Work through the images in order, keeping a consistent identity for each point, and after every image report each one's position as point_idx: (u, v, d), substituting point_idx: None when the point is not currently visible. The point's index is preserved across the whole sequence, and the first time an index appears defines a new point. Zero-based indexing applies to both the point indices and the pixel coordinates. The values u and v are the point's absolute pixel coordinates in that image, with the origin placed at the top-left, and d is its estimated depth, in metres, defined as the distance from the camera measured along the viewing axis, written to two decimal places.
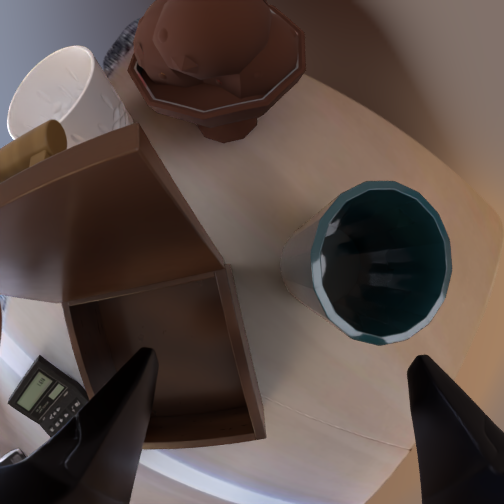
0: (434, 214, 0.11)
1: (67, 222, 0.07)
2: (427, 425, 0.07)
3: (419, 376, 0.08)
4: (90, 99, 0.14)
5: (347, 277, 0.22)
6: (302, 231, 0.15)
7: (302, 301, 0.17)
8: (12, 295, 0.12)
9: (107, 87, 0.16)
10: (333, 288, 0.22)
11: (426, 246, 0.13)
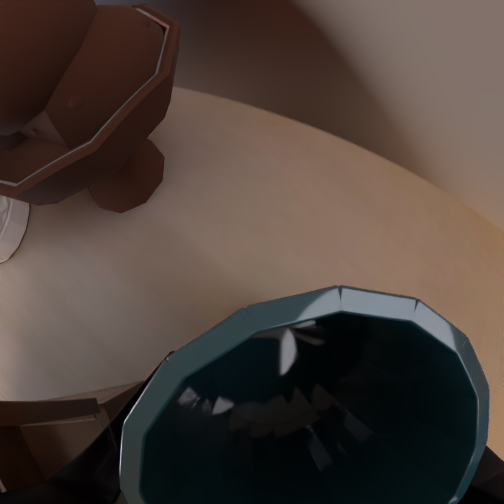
0: (457, 343, 0.04)
1: None
2: None
3: None
4: None
5: (310, 385, 0.14)
6: None
7: None
8: None
9: None
10: (291, 403, 0.14)
11: (433, 390, 0.05)
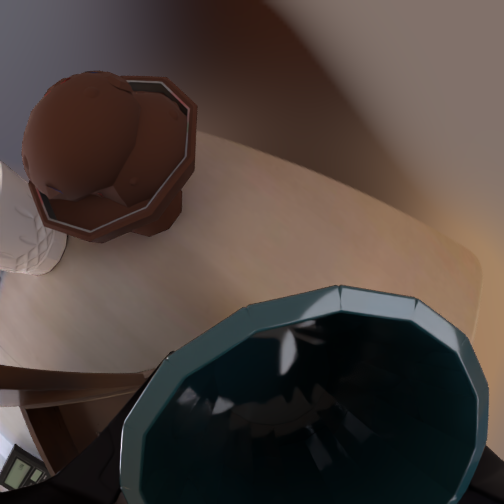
0: (457, 343, 0.04)
1: None
2: None
3: None
4: (3, 217, 0.13)
5: (310, 385, 0.14)
6: None
7: None
8: None
9: (22, 197, 0.15)
10: (291, 403, 0.14)
11: (433, 390, 0.05)
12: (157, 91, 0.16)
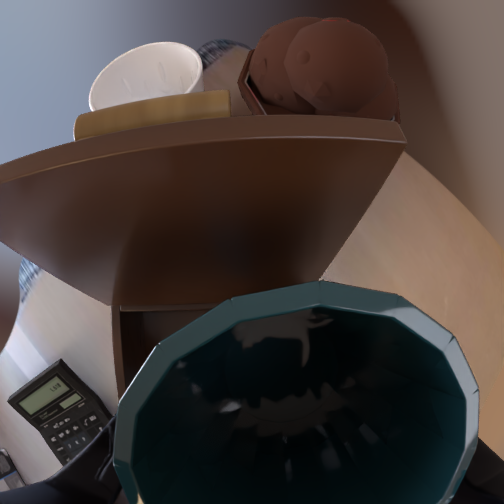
0: (443, 342, 0.04)
1: (266, 194, 0.07)
2: None
3: None
4: None
5: (319, 384, 0.14)
6: None
7: None
8: (69, 282, 0.12)
9: None
10: (299, 401, 0.14)
11: (426, 390, 0.05)
12: None
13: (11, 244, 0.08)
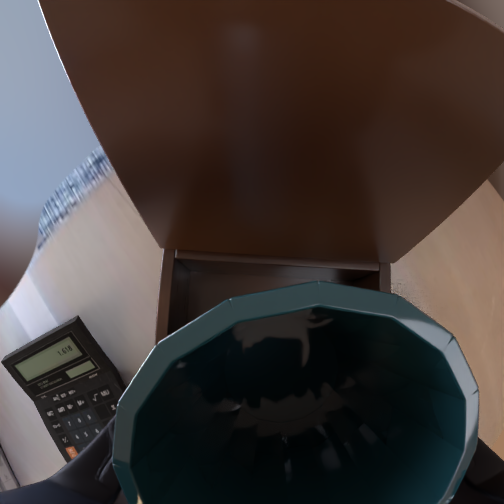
0: (443, 342, 0.04)
1: (471, 89, 0.04)
2: None
3: None
4: None
5: (318, 384, 0.14)
6: None
7: None
8: (135, 194, 0.10)
9: None
10: (298, 401, 0.14)
11: (425, 390, 0.05)
12: None
13: (90, 98, 0.06)
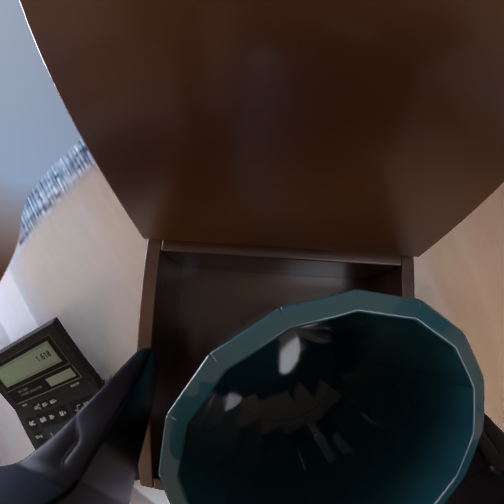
0: (455, 339, 0.04)
1: None
2: None
3: None
4: None
5: (317, 382, 0.15)
6: None
7: None
8: (105, 165, 0.07)
9: None
10: (298, 399, 0.15)
11: (434, 382, 0.06)
12: None
13: (45, 30, 0.03)
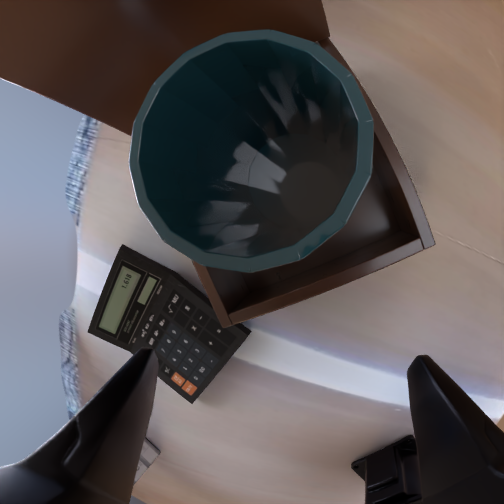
0: (264, 34, 0.06)
1: None
2: (427, 425, 0.07)
3: (419, 376, 0.08)
4: None
5: (329, 176, 0.17)
6: None
7: None
8: (80, 107, 0.11)
9: None
10: (322, 197, 0.18)
11: (313, 77, 0.08)
12: None
13: (7, 73, 0.06)
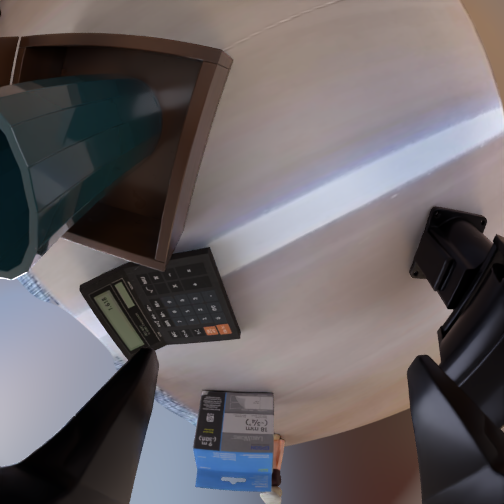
0: None
1: None
2: (427, 425, 0.07)
3: (419, 376, 0.08)
4: None
5: None
6: None
7: (100, 199, 0.13)
8: None
9: None
10: None
11: None
12: None
13: None
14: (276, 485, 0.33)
